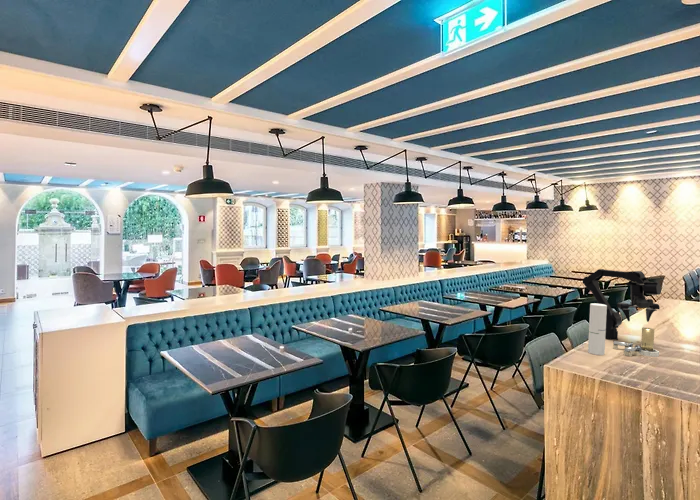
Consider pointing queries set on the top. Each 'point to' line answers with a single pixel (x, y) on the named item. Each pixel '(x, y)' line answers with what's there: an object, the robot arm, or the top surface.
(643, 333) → the tan cylindrical piece
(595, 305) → the light grey tall block
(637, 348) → the shaft
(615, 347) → the shaft
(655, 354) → the socket ring
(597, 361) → the top surface
